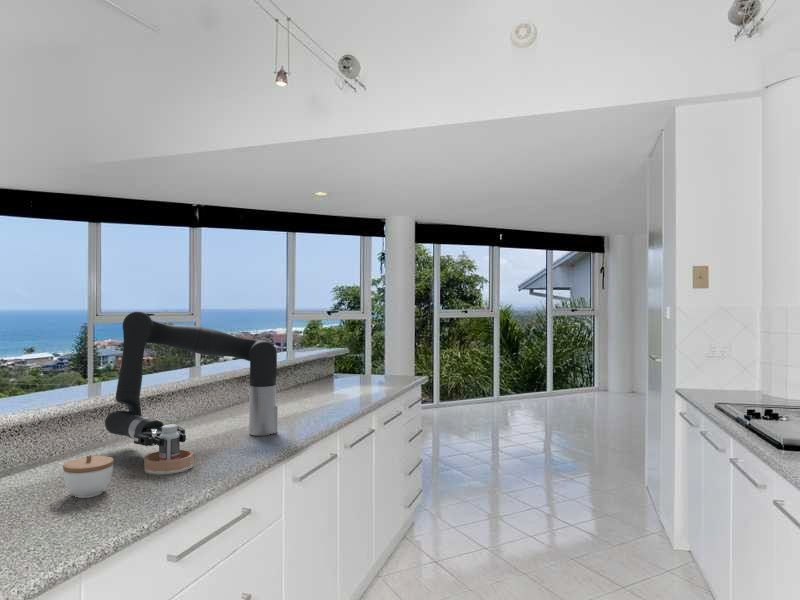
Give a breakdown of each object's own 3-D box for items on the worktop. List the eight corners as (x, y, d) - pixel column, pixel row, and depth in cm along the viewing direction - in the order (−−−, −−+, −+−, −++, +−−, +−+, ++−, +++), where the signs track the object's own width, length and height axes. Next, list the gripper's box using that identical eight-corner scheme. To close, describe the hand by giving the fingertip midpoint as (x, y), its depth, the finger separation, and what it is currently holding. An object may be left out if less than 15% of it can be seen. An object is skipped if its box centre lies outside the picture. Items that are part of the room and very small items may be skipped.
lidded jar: (77, 505, 124) (77, 464, 124) (53, 496, 130) (54, 457, 130) (122, 491, 133) (122, 453, 134) (98, 483, 139) (98, 447, 139)
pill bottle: (178, 456, 156) (179, 422, 156) (180, 461, 152) (180, 426, 152) (158, 458, 154) (158, 424, 154) (159, 464, 149) (159, 428, 149)
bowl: (188, 459, 161) (188, 447, 161) (196, 470, 151) (197, 457, 151) (142, 465, 155) (142, 453, 155) (147, 477, 144) (147, 464, 144)
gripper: (122, 422, 157) (148, 431, 146) (170, 414, 168) (198, 423, 157) (121, 447, 157) (147, 459, 146) (170, 438, 168) (197, 448, 157)
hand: (173, 440), depth 151 cm, fingers closed on pill bottle, 5 cm apart
